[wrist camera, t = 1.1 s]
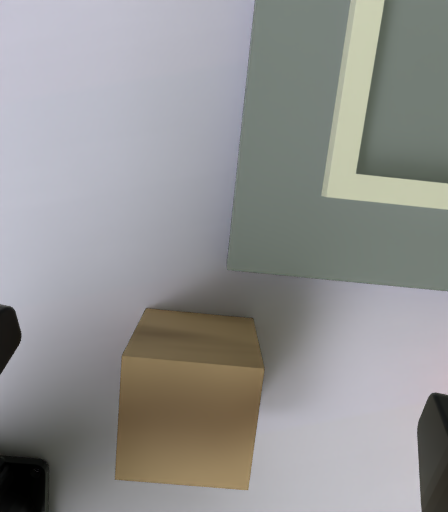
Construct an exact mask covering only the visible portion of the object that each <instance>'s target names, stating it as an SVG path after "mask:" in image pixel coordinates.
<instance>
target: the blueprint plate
mask: <svg viewBox="0 0 448 512" xmlns="http://www.w3.org/2000/svg"><path fill="white" fill-rule="evenodd" d="M227 270H232V271H242V272H253V273H263V274H273V275H284V276H294V277H305V278H315V279H325V280H336V281H346V282H357V283H367V284H377V285H388V286H398V287H409V288H419V289H429V290H440V291H448V0H255V4H254V13H253V23H252V32H251V41H250V51H249V60H248V70H247V79H246V88H245V98H244V107H243V116H242V126H241V135H240V144H239V154H238V163H237V172H236V182H235V191H234V201H233V210H232V219H231V229H230V238H229V247H228V257H227Z"/></svg>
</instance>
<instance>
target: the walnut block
mask: <svg viewBox="0 0 448 512" xmlns="http://www.w3.org/2000/svg"><path fill="white" fill-rule="evenodd" d="M263 376H264V364H263V360H262V355H261V351H260V346H259V342H258V338H257V333H256V329H255V324H254V320H253V318H245V317H234V316H224V315H213V314H202V313H191V312H181V311H170V310H159V309H148V308H146V309H145V311H144V313H143V315H142V317H141V319H140V321H139V323H138V325H137V327H136V329H135V331H134V333H133V335H132V337H131V339H130V341H129V343H128V345H127V347H126V349H125V350H124V352H123V354H122V360H121V378H120V396H119V414H118V432H117V450H116V468H115V480H126V481H138V482H151V483H163V484H176V485H189V486H201V487H214V488H226V489H239V490H248V487H249V480H250V473H251V465H252V458H253V450H254V443H255V436H256V428H257V421H258V413H259V406H260V399H261V391H262V384H263Z"/></svg>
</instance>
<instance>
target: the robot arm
mask: <svg viewBox="0 0 448 512" xmlns="http://www.w3.org/2000/svg"><path fill="white" fill-rule="evenodd" d="M20 341H21V330H20V327H19V323H18V319H17V315H16V312H15V310H14V309H13V307H11V306H6V305H1V304H0V374H1V373H2V371H3V370H4V368H5V366H6V365H7V363H8V362H9V360H10V358H11V357H12V355H13V354H14V352H15V350H16V349H17V347H18V346H19V344H20ZM417 438H418V457H419V475H420V494H421V509H422V512H448V395H445V394H440V393H432V394H430V396H429V397H428V399H427V402H426V404H425V407H424V409H423V412H422V414H421V416H420V419H419V422H418V428H417ZM34 469H38V470H39V471H40V472H37V471H35V470H34ZM48 488H49V467H48V464H47V463H46V462H45V461H44V460H42V459H36V458H23V457H10V456H0V512H48Z"/></svg>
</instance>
